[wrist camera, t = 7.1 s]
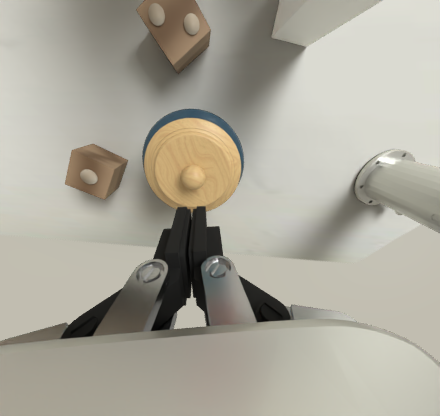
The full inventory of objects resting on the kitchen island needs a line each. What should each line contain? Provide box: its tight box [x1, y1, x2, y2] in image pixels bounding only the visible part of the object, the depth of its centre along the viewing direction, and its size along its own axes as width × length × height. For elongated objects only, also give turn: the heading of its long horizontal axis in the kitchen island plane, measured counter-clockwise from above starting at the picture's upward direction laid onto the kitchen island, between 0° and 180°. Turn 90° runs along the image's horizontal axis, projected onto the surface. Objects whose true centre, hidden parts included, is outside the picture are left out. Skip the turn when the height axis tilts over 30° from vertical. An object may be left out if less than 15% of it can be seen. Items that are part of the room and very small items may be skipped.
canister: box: [142, 109, 244, 213], centre depth 26 cm, size 13×13×18 cm
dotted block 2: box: [136, 0, 211, 74], centre depth 23 cm, size 6×6×6 cm
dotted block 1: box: [65, 144, 128, 200], centre depth 31 cm, size 6×6×6 cm
